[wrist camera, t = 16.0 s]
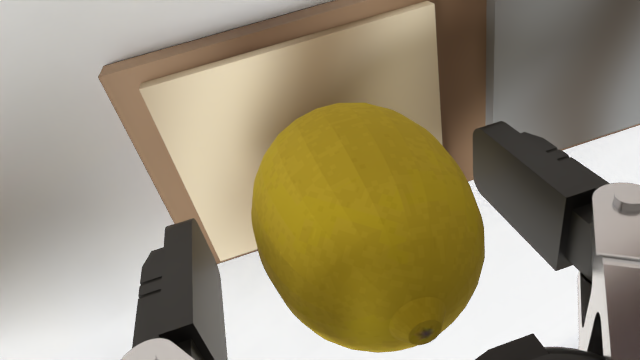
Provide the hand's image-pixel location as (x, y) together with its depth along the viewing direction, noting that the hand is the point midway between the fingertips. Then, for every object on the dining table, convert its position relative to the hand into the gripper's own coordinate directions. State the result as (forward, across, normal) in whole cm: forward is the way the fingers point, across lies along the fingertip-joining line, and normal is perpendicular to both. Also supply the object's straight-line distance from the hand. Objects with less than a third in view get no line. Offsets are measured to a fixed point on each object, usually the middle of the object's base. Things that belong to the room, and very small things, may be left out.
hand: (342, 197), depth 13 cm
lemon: (+3, 0, 0) cm, 3 cm away
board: (+5, -6, 0) cm, 7 cm away
